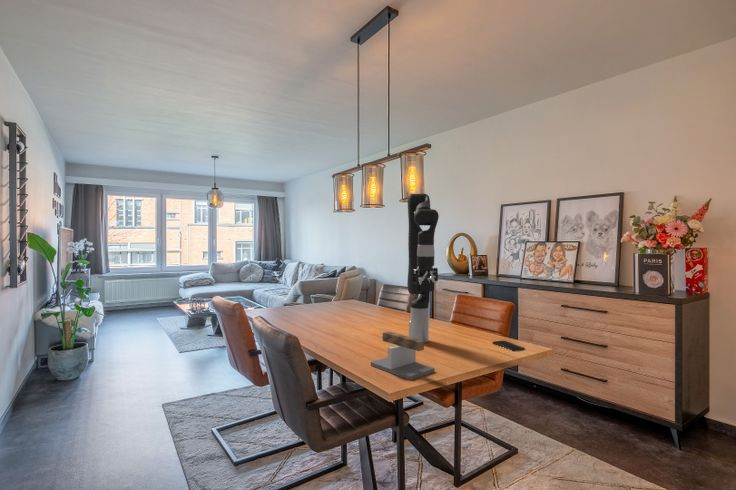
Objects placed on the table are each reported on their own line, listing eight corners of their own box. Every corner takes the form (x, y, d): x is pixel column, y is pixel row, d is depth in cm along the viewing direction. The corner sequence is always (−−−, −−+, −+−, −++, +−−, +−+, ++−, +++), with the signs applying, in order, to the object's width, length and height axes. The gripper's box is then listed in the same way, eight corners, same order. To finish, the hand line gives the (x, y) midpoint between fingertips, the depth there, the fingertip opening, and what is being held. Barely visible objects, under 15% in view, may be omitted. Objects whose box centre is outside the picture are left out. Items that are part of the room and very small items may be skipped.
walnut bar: (382, 340, 163) (382, 332, 163) (387, 339, 165) (387, 331, 165) (418, 351, 148) (418, 342, 148) (424, 349, 150) (424, 340, 150)
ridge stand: (370, 365, 160) (370, 342, 160) (394, 358, 169) (394, 337, 169) (410, 380, 144) (410, 354, 143) (434, 371, 153) (434, 347, 153)
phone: (504, 340, 198) (525, 348, 184) (504, 342, 198) (525, 350, 184) (491, 341, 195) (512, 349, 181) (491, 344, 195) (512, 352, 181)
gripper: (429, 254, 177) (429, 289, 178) (408, 255, 168) (407, 292, 169) (442, 255, 172) (442, 291, 172) (421, 256, 162) (420, 295, 163)
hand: (425, 292), depth 170 cm, fingers open, 8 cm apart
